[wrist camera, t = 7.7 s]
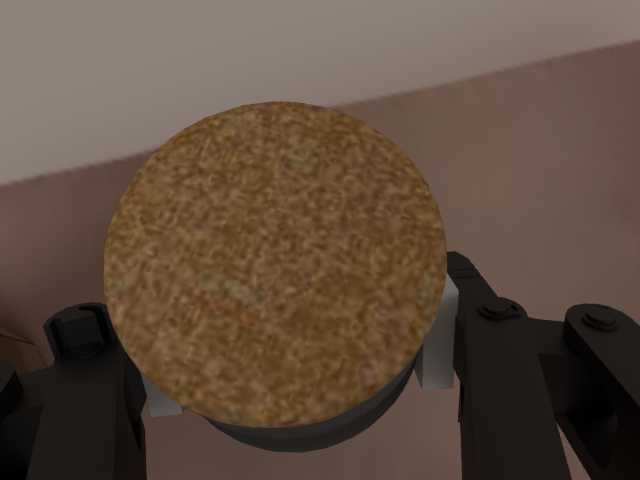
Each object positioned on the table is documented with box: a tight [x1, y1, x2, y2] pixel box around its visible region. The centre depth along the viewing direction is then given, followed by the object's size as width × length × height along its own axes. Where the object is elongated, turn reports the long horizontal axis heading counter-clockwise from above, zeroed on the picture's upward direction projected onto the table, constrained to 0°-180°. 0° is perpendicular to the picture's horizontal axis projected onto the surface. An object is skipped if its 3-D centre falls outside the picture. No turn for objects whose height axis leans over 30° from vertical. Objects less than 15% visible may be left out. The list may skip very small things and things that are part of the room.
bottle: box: [103, 102, 447, 453], centre depth 13 cm, size 6×6×15 cm
